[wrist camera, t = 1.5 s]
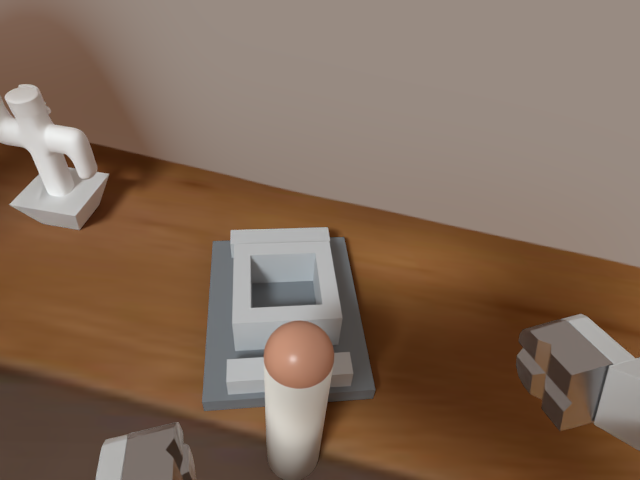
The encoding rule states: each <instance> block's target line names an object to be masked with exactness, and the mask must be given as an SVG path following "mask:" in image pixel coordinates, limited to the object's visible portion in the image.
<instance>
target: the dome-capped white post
mask: <svg viewBox="0 0 640 480" xmlns="http://www.w3.org/2000/svg"><path fill="white" fill-rule="evenodd" d="M333 364H334V349H333V345H332V342H331V340H330V338H329V336H328V335H327V334H326V333H325V331H324V330H323V329H321V328H320V327H319V326H317V325H316V324H314V323H311V322H308V321H302V320H297V321H291V322H287V323H285V324H283V325H281V326H280V327H278V328H277V329H276V330H275V331H274V332H273V333H272V334H271V335H270V337H269V339H268V340H267V343H266V345H265V349H264V384H265V414H266V443H267V460H268V464H269V466H270V468H271V470H272V471H273V472H274V474H276V475H277V476H278V477H280V478H282V479H284V480H301V479H304V478H305V477H307V476H308V475H310V474H311V473H312V472H313V470H314V469H315V467H316V465H317V462H318V458H319V452H320V446H321V439H322V433H323V427H324V421H325V414H326V408H327V402H328V396H329V389H330V383H331V377H332V371H333Z"/></svg>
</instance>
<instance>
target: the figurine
mask: <svg viewBox="0 0 640 480" xmlns="http://www.w3.org/2000/svg"><path fill="white" fill-rule="evenodd" d="M5 100H6V102H7V104H8V106H9V107H10V109H11V111H12V113H13V114H14V116H15V118H13V117H12V116H11V114H10V113H9V112H8V110H7V109H6V107H5V105H4V103H3V101H2V99H1V96H0V143H2V144H6V145H11V146H17V147H23V148H25V149H27V150H28V151H29V152H30V154H31V156H32V158H33V160H34V163H35V165H36V167H37V169H38V172H39V175H38V176H37V177H36V178H35V179H34V180H33V181H32V182H31V183H30V184H29V185H28V186H27V187H26V188H25V189H24V190H23V191H22V192H21V193H20V194H19V195H18V196H17V197H16V198H15V199H14V200H13V201H12V202H11V203H10V204H9V205H10V206H12V207H14V208H15V209H17V210H19V211H21V212H23V213H24V214H26V215H28V216H30V217H31V218H33V219H35V220H37V221H39V222H40V223H42V224H47V225H53V226H59V227H64V228H70V229H76V230H80V229H81V228H82V226H83V225H84V224H85V223H86V221H87V220H88V219H89V217H90V216H91V215H92V214H93V212H94V211H95V210H96V208H97V207H98V206H99V204H100V201H101V198H102V195H103V192H104V189H105V186H106V183H107V180H108V177H109V174H106V173H100V172H97V164H96V161H95V158H94V155H93V152H92V149H91V146H90V143H89V141H88V139H87V136H86V135H85V134H84V133H83V131H81V130H80V129H77V128H73V127H67V126H60V125H54V123H53V122H52V120H51V118H50V117H49V114H50V113H51V109H50V108H49V107H48V106H46V105H45V104H46V102H44V100H43V98H42V95H41V93H40V90H39V89H38V88H37V87H36V86H34V85H30V84H22V85H19V87H18V88H16V89H13V90H11V91H9V92H8V93H7V94H6V95H5ZM63 154H66V155H67V156H68V157H69V158H70V159H71V160H72V162H73V164H74V166H75V168H76V169H75V168H69V167H68V165H67V163H66V160H65V157H64V155H63Z"/></svg>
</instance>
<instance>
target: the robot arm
mask: <svg viewBox="0 0 640 480" xmlns="http://www.w3.org/2000/svg"><path fill="white" fill-rule="evenodd" d="M519 343H520V344H521V346H522V347H523V349H522V350H521V351H520V352H519V354H518V355H517V360H516V368H517V372H518V375H519V378H520V380H521V382H522V384H523V386H524V387H525V388H526V390H527V391H528V392H529V394H531V395H533V396H535V397H537V398H539V399H542V410H543V411H544V412H545V414H546V415H547V416H548V417H549V419H550V420H551V421H552V422H553V423H554V425H555V426H556V427H557V428H558V430H559V431H563V430H567V429H570V428H574V427H578V426H582V425H585V424H589V423H593V422H594V425H596V426H598V427H599V428H601V429H603V430H604V431H606V432H608V433H610V434H611V435H613V436H615V437H616V438H618V439H620V440H622V441H623V442H625V443H627V444H629V445H630V446H632V447H634V448H635V449H637V450H639V451H640V357H639V358H634V357H633V356H632V355H631V354H630V353H629V352H627V351H626V350H625V349H624V348H623V347H622V346H620V345H619V344H618V343H617V342H616V341H615V340H614V339H612V338H611V337H610V336H609V335H608V334H607V333H606V332H604V331H603V330H602V329H601V328H600V327H599V326H597V325H596V324H595V323H594V322H593V321H592V320H591V319H589V318H588V317H587V316H585V315H582V314H578V315H574V316H571V317H567V318H563V319H561V320H555V321H552V322H548V323H545V324H541V325H537V326H534V327H530V328H527V329H523V330H522V332H521V333H520V335H519ZM95 480H196V474H195V466H194V461H193V457H192V453H191V450H190V448H189V446H188V445H186V444H184V443H183V431H182V429H181V426H180V424H179V423H177V422H176V423H171V424H167V425H163V426H159V427H155V428H151V429H146V430H142V431H138V432H134V433H130V434H127V435H123V436H119V437H115V438H111V439H107V440H105V442H104V444H103V446H102V448H101V453H100V458H99V464H98V469H97V474H96V479H95Z"/></svg>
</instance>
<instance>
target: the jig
mask: <svg viewBox="0 0 640 480" xmlns="http://www.w3.org/2000/svg"><path fill="white" fill-rule="evenodd" d="M297 320H302V321H308V322H311V323H314V324H316V325H317V326H319V327H320V328H321V329H323V330H324V331H325V333H326V334H327V335H328V336H329V338H330V340H331V342H332V345H333V349H334V364H333V371H332V377H331V383H330V389H329V396H328V402H332V401H346V400H360V399H373V396H374V393H375V385H374V380H373V376H372V371H371V366H370V361H369V356H368V351H367V346H366V341H365V337H364V332H363V327H362V322H361V317H360V312H359V307H358V303H357V298H356V293H355V288H354V283H353V278H352V273H351V268H350V264H349V259H348V254H347V249H346V244H345V239H344V237H329V231H328V227H323V228H288V229H254V230H231V241H213V248H212V263H211V278H210V293H209V308H208V323H207V338H206V353H205V368H204V383H203V398H202V403H203V408H204V411H211V410H224V409H238V408H251V407H265V384H264V349H265V345H266V343H267V340H268V339H269V337H270V335H271V334H272V333H273V332H274V331H275V330H276V329H277V328H278V327H280V326H281V325H283V324H285V323H287V322H291V321H297Z"/></svg>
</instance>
